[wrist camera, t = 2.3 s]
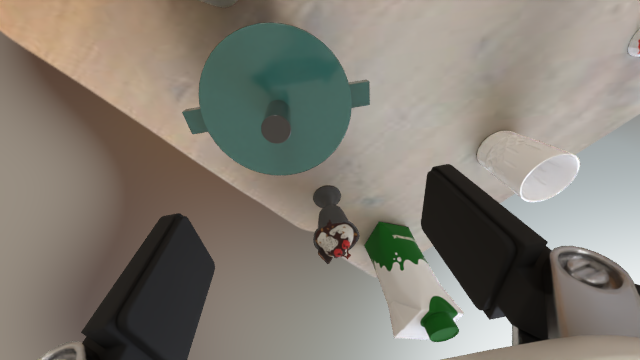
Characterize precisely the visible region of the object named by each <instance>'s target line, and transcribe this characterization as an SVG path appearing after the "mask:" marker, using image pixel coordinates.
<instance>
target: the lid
mask: <svg viewBox="0 0 640 360" xmlns="http://www.w3.org/2000/svg"><path fill="white" fill-rule="evenodd" d="M199 105H200V110H201V114H202V117H203V120H204V123H205V125H206V127H207V130H208V132H209V134H210V135H211V137H212V138H213V140H214V141H215V143H216V144H217V145H218V146H219V147H220V149H221V150H222V151H223V152H225V153H226V154H227V155H228V156H229V157H230V158H232V159H233V160H234V161H236V162H237V163H239V164H241V165H242V166H244V167H246V168H248V169H251V170H253V171H256V172H259V173H264V174H269V175H292V174H297V173H301V172H304V171H307V170H309V169H311V168H313V167H315V166H317V165H319V164H320V163H322V162H323V161H324V160H326V159H327V158H328V157H329V156H330V155H331V154H332V153H333V152H334V151H335V150H336V148H337V147H338V146H339V144H340V143H341V141H342V139H343V138H344V136H345V133H346V131H347V128H348V125H349V121H350V116H351V92H350V87H349V83H348V79H347V77H346V74H345V72H344V70H343V68H342V66H341V64H340V62H339V61H338V59H337V58H336V57H335V55H334V54H333V53H332V51H331V50H330V49H329V48H328V47H327V46H326V45H325V44H324V43H323V42H321V41H320V40H319V39H317V38H316V37H315V36H313V35H311V34H310V33H308V32H306V31H304V30H302V29H299V28H297V27H294V26H291V25H286V24H282V23H258V24H254V25H250V26H246V27H244V28H241V29H239V30H237V31H235V32H233V33H232V34H230V35H228V36H227V37H226V38H225V39H223V40H222V41H221V42H220V43H219V44H218V45H217V46H216V47H215V49H214V50H213V51H212V52H211V54H210V56H209V57H208V59H207V61H206V63H205V65H204V68H203V71H202V74H201V78H200V83H199Z"/></svg>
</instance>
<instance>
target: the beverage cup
mask: <svg viewBox="0 0 640 360" xmlns="http://www.w3.org/2000/svg"><path fill="white" fill-rule="evenodd" d="M628 53H629V54H630V55H631V56H636V57H640V29H639V30H638V31H637V32H636V34H635V35H634V36H633V38H632V39H631V41H630V44H629V47H628Z"/></svg>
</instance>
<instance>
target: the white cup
mask: <svg viewBox="0 0 640 360" xmlns="http://www.w3.org/2000/svg"><path fill="white" fill-rule="evenodd" d="M477 160H478V162H479V164H481V165H482V166H483V167H485V168H486V169H487V170H488V171H489V172H490V173H491V174H492V175H493V176H495V177H496V178H497V179H498V180H499V181H501V182H502V183H503V184H505V185H506V186H507V187H508V188H510V189H511V190H512V191H513V192H515V193H516V194H518V196H520V197H521V198H522V199H524V200H525V201H528V202H539V201H543V200H546V199H549V198H551V197H553V196H555V195H556V194H558V193H560V192H561V191H562V190H564V189H565V188H566V187H567V186H568V185H569V184H570V183H571V182H572V181H573V180H574V178H575V177H576V175H577V174H578V171H579V168H580V160H579V158H578V157H577V156H576V155H574V154H572V153H569V152H566V151H564V150H561V149H558V148H556V147H553V146H551V145H548V144H546V143H543V142H540V141H537V140H534V139H532V138H529V137H525V136H521V135H519V134H516V133H514V132H511V131H499V132H496V133H494V134H492V135H490V136H489V137H488V138H487V139H485V140H484V141H483V142H482V144H481V146H480V147H479V149H478V152H477Z"/></svg>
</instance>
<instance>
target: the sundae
mask: <svg viewBox="0 0 640 360" xmlns="http://www.w3.org/2000/svg"><path fill="white" fill-rule="evenodd" d="M340 198H341V194H340V191H339V190H338V189H337V188H335V187H333V186H324V187H321V188H319V189H318V190H317V191H316V192H315V194H314V198H313V199H314V202H315V204H316V205H317V206H319V207H321V208H323V209H322V210H321V211H320V213H319V221H318V229H317V230H316V231H315V234H314V245H315V247H316V248H317V249H318V254H319V256H320V257H321V258H322V259H323V260H324V261H325V262H326V263H327V264H329V263H330V261H331V260H332V258H333V257H334V258H340V257H342V256H344V255H345V254H346V252H347V254H348V250H350V249H351V248H352V247H353V246H354V245H355V244H356V242H357V241H358V239H359V232H358V229H357V228H356V227H355V225H354V224H353V223H351V222H349V221H348V219H347V217H346V215H345V214H344V212H343V211H342V209H341V208H340V207H338V206H336V204H338V202H339V201H340ZM350 256H351V255H350V254H348V255H347V257H346V256H344V257H346V258H347V259H348V257H350Z"/></svg>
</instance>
